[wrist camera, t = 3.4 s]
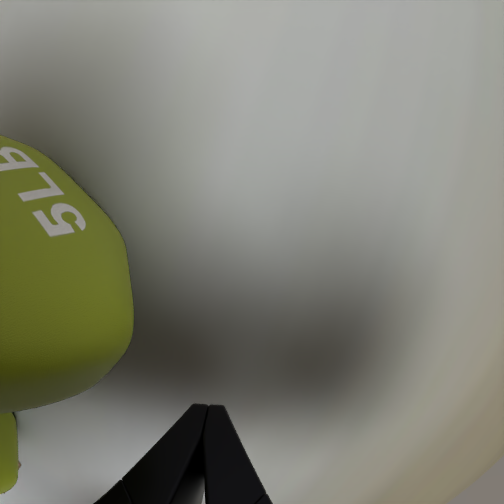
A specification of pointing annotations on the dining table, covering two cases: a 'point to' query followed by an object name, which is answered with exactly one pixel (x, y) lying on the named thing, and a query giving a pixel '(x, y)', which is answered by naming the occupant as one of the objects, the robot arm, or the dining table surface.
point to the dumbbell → (54, 291)
